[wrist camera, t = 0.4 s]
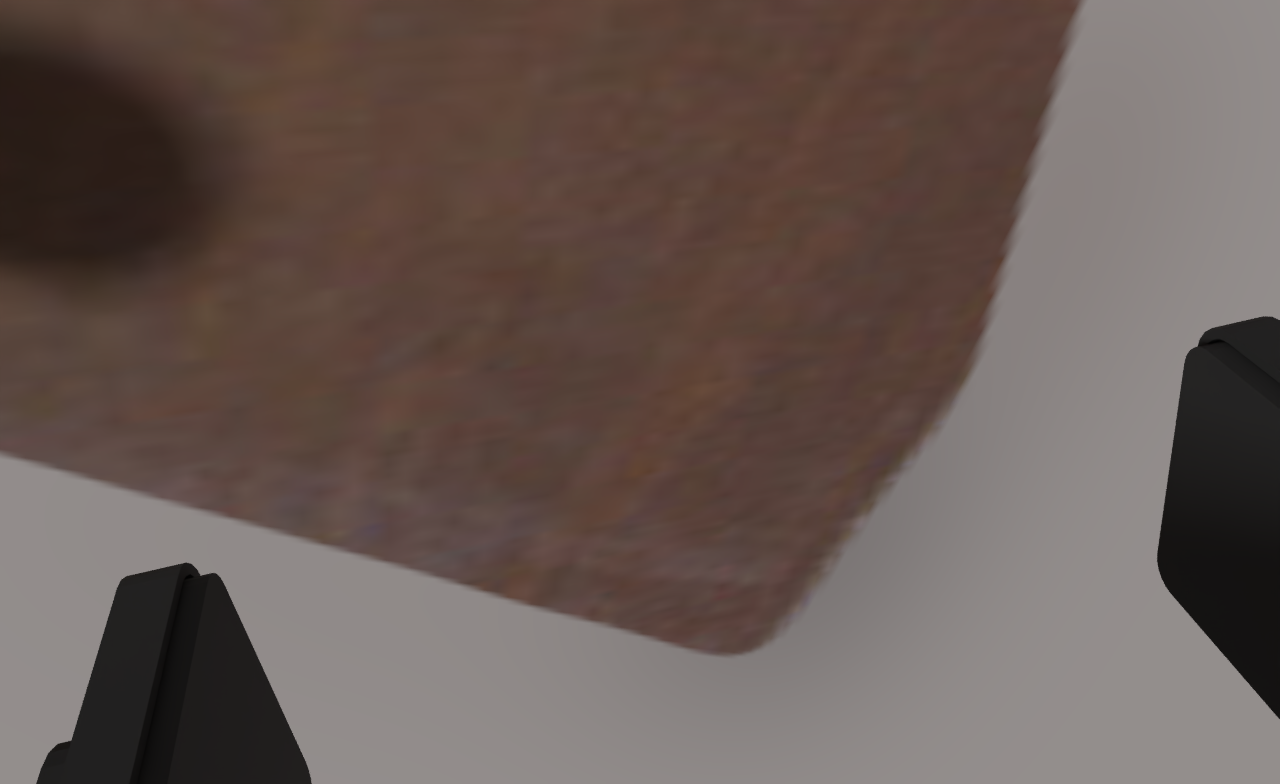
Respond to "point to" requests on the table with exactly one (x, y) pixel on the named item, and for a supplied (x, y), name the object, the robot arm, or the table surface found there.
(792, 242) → the table surface
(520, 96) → the table surface
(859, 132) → the table surface
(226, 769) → the robot arm
